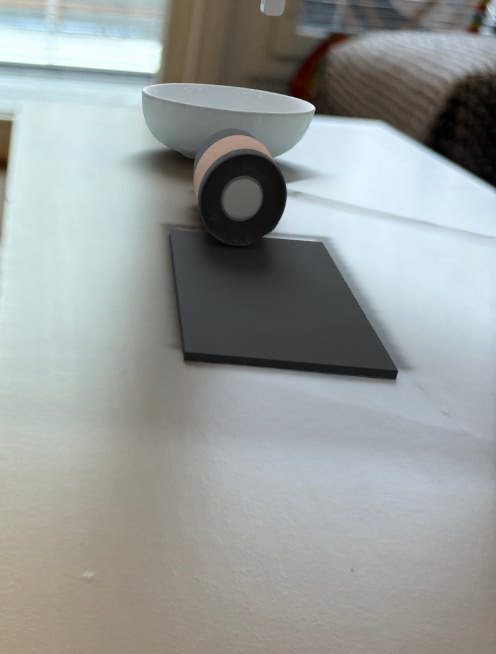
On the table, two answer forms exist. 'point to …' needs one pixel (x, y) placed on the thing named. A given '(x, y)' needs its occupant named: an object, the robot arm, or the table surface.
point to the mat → (271, 307)
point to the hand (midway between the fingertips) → (270, 14)
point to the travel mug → (238, 187)
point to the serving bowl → (223, 115)
